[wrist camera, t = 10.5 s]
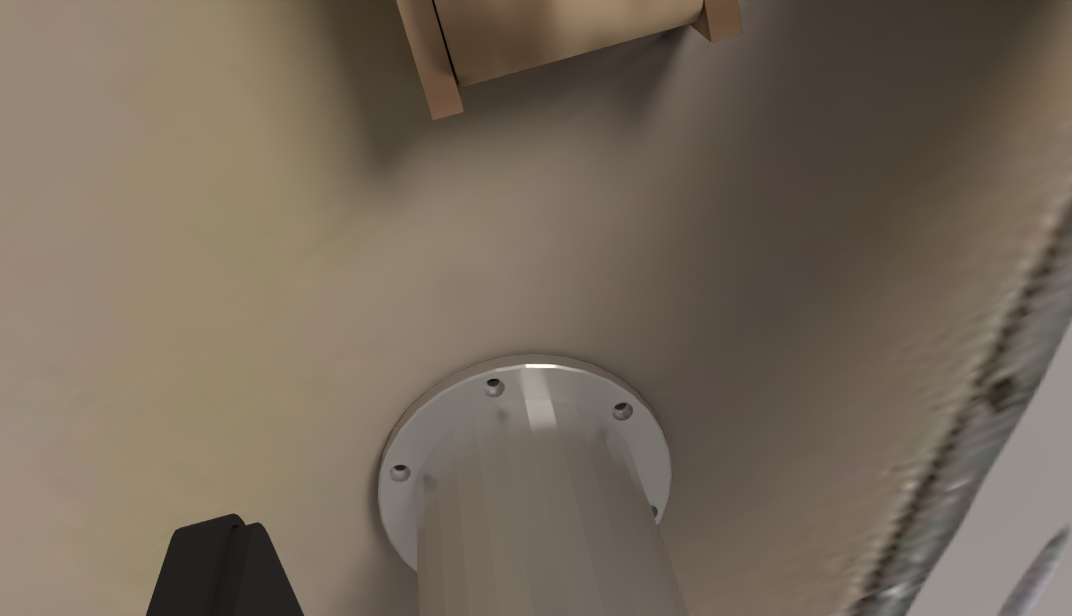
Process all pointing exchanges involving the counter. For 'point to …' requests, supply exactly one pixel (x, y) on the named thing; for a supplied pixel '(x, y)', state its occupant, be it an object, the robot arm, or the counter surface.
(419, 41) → the wooden trough
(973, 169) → the counter surface
